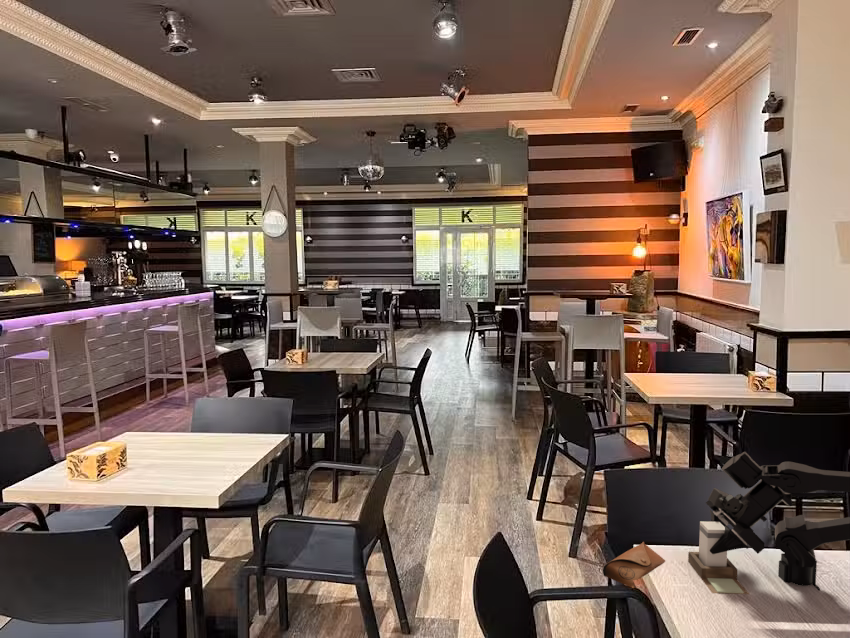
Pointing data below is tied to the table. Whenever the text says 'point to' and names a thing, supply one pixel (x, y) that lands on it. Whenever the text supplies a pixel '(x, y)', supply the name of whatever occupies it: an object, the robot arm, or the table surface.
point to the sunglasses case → (632, 565)
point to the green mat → (724, 585)
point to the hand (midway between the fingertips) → (706, 547)
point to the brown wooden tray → (714, 572)
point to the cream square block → (711, 544)
